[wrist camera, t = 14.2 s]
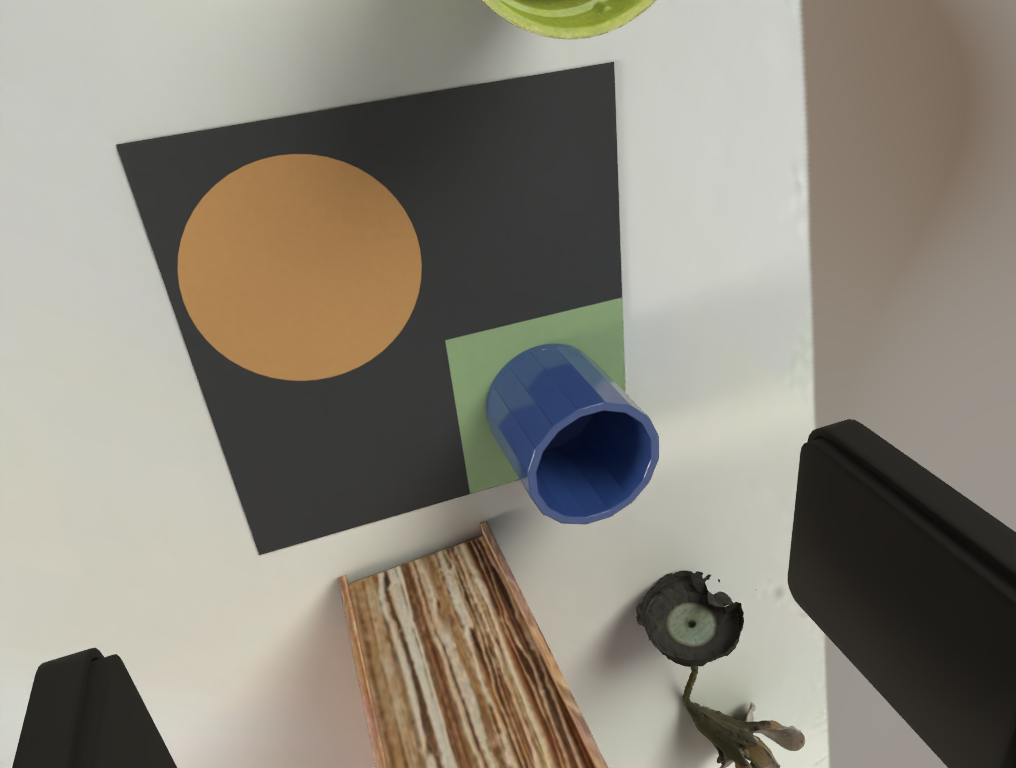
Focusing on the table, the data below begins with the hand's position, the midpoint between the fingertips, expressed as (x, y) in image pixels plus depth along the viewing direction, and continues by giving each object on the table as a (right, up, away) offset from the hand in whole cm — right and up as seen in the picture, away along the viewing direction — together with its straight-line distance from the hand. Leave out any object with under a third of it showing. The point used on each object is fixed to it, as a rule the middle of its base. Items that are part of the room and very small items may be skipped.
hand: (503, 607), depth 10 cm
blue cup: (+2, +2, +33) cm, 34 cm away
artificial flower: (+15, -19, +50) cm, 55 cm away
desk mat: (-4, +6, +29) cm, 30 cm away
